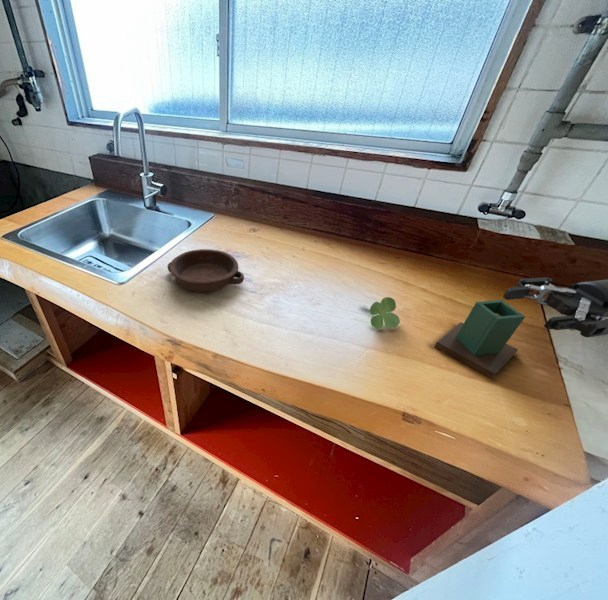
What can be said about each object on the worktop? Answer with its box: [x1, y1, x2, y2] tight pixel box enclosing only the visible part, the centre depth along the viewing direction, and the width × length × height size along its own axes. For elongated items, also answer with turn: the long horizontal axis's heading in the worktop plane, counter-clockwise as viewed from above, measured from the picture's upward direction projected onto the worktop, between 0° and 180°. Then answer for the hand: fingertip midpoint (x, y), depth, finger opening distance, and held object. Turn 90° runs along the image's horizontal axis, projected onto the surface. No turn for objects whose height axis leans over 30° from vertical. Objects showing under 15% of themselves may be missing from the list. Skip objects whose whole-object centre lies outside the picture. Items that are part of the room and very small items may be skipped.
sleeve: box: [456, 299, 526, 355], centre depth 60 cm, size 5×5×9 cm
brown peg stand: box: [433, 313, 519, 379], centre depth 61 cm, size 10×10×9 cm
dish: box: [166, 248, 245, 293], centre depth 86 cm, size 18×22×5 cm
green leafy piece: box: [364, 296, 401, 330], centre depth 72 cm, size 7×8×7 cm
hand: (526, 308), depth 58 cm, fingers open, 8 cm apart
